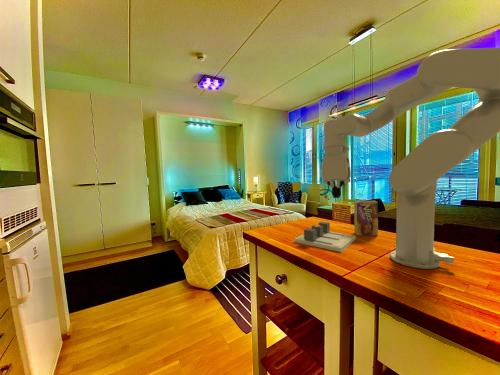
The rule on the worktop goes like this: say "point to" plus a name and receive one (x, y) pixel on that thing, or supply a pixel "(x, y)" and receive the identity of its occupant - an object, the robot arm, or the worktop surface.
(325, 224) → the block
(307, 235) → the block
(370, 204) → the candy box
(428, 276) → the worktop surface
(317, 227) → the block
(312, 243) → the panel
